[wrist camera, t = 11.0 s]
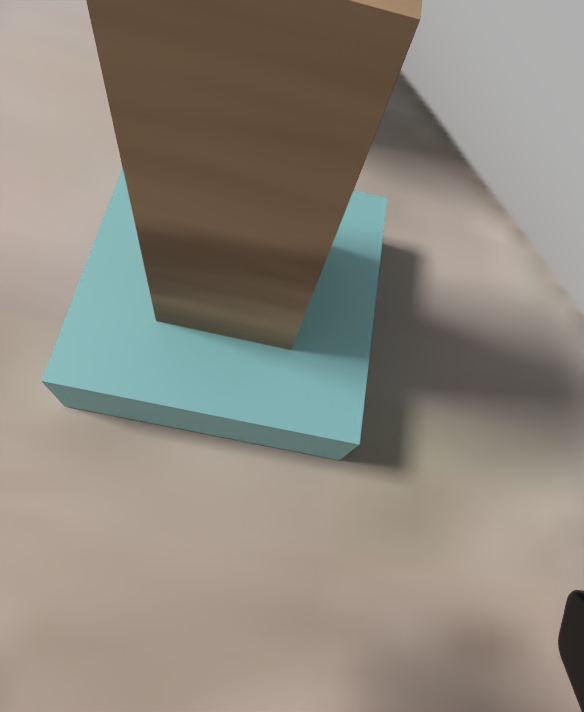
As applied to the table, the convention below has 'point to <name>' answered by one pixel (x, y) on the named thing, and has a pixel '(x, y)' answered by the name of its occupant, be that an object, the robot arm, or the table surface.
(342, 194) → the block
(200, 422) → the base
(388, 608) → the table surface
